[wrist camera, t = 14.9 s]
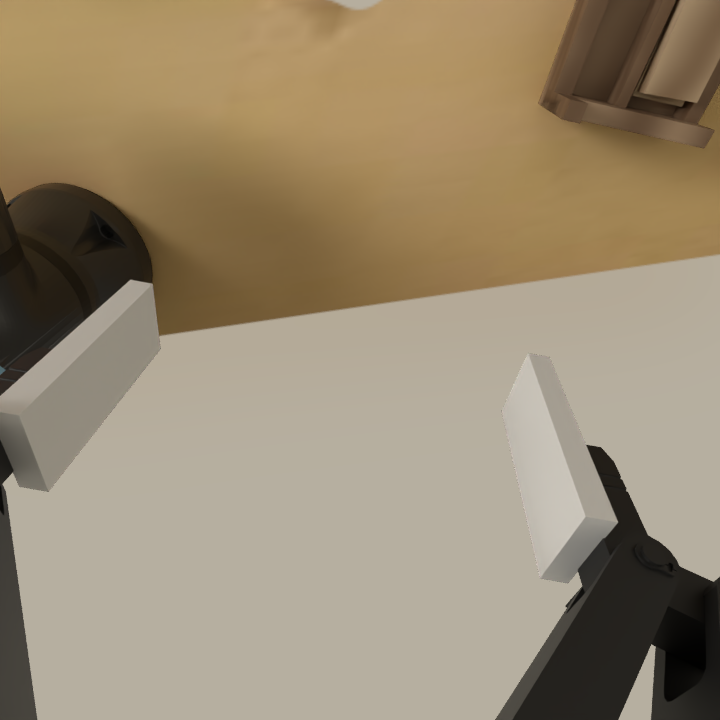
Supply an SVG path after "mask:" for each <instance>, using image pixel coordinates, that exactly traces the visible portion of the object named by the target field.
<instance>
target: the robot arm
mask: <svg viewBox="0 0 720 720" xmlns="http://www.w3.org/2000/svg"><path fill="white" fill-rule="evenodd" d="M151 283H152V266H151V261H150V257H149V254H148V251H147V249H146V246H145V244H144V242H143V240H142V239H141V237H140V235H139V234H138V232H137V231H136V229H135V228H134V227H133V225H132V224H131V223H130V222H129V220H128V219H127V218H126V217H125V216H124V215H123V214H122V213H121V212H120V211H119V210H117V209H116V208H115V207H114V206H113V205H111V204H110V203H109V202H107V201H106V200H104V199H103V198H101V197H100V196H98V195H96V194H94V193H92V192H90V191H88V190H85V189H83V188H80V187H77V186H73V185H69V184H62V183H49V184H43V185H40V186H37V187H34V188H32V189H29V190H27V191H25V192H22V193H20V194H19V195H17V196H15V197H14V198H13V199H12V200H10V201H9V202H8V204H7V205H6V202H5V199H4V197H3V194H2V191H1V188H0V720H37V715H36V708H35V700H34V693H33V686H32V679H31V672H30V664H29V658H28V649H27V643H26V635H25V628H24V620H23V613H22V606H21V599H20V592H19V584H18V577H17V570H16V563H15V555H14V548H13V541H12V533H11V527H10V519H9V512H8V504H7V497H6V491H5V489H4V487H3V485H2V484H3V482H4V481H5V480H6V479H7V478H8V477H9V476H10V475H11V474H12V472H13V474H14V475H15V478H16V480H17V483H18V485H19V487H24V488H30V489H36V490H41V491H47V492H49V490H50V489H51V488H52V487H53V485H54V484H55V483H56V482H57V480H58V479H59V478H60V476H61V475H62V474H63V473H64V471H65V470H66V469H67V467H68V466H69V465H70V464H71V462H72V461H73V460H74V459H75V457H76V456H77V455H78V453H79V452H80V451H81V450H82V448H83V447H84V446H85V444H86V443H87V442H88V441H89V440H90V438H91V437H92V436H93V434H94V433H95V432H96V430H97V429H98V428H99V427H100V426H101V424H102V423H103V422H104V420H105V419H106V418H107V417H108V415H109V414H110V413H111V412H112V410H113V409H114V408H115V406H116V405H117V404H118V403H119V401H120V400H121V399H122V398H123V396H124V395H125V394H126V392H127V391H128V390H129V388H130V387H131V386H132V385H133V383H134V382H135V381H136V380H137V378H138V377H139V376H140V375H141V373H142V372H143V371H144V370H145V368H146V367H147V366H148V364H149V363H150V362H151V360H152V359H153V358H154V357H155V355H156V354H157V353H158V351H159V350H160V349H161V348H160V340H159V332H158V323H157V315H156V307H155V299H154V291H153V284H151ZM502 415H503V420H504V424H505V429H506V433H507V437H508V442H509V446H510V450H511V454H512V459H513V463H514V468H515V472H516V477H517V481H518V485H519V489H520V494H521V498H522V503H523V507H524V511H525V516H526V520H527V524H528V528H529V533H530V537H531V542H532V546H533V550H534V555H535V559H536V563H537V568H538V572H539V577H540V578H541V579H546V580H552V581H557V582H563V583H569V582H570V580H571V579H572V578H573V577H574V576H575V574H576V573H577V572H579V576H580V579H581V583H582V587H581V588H580V590H579V591H578V592H577V593H576V594H575V595H574V597H573V598H572V599H571V600H570V601H569V602H568V604H567V605H566V607H567V609H566V611H565V612H564V614H563V615H562V617H561V619H560V620H559V621H558V623H557V625H556V626H555V628H554V629H553V631H552V633H551V634H550V635H549V637H548V639H547V640H546V642H545V643H544V645H543V646H542V648H541V649H540V651H539V653H538V654H537V656H536V657H535V659H534V661H533V662H532V664H531V665H530V667H529V668H528V670H527V671H526V673H525V674H524V676H523V678H522V679H521V681H520V682H519V684H518V685H517V687H516V688H515V690H514V692H513V693H512V695H511V696H510V698H509V699H508V701H507V702H506V704H505V706H504V707H503V709H502V710H501V712H500V713H499V715H498V716H497V718H496V719H495V720H618V719H619V717H620V714H621V712H622V710H623V708H624V705H625V703H626V701H627V698H628V696H629V694H630V692H631V689H632V687H633V685H634V682H635V680H636V678H637V676H638V673H639V671H640V669H641V667H642V664H643V662H644V660H645V657H646V655H647V653H648V650H649V648H650V646H651V644H652V645H654V646H656V651H655V667H654V683H653V698H652V714H651V720H720V577H719V578H718V579H717V580H715V581H714V582H712V581H710V580H708V579H706V578H704V577H701V576H699V575H697V574H695V573H693V572H690V571H688V570H686V569H684V568H682V567H680V566H679V565H678V562H677V560H676V559H675V557H674V556H673V555H672V553H671V552H670V551H669V550H668V549H667V548H666V547H665V546H663V545H662V544H661V543H660V542H659V541H657V540H655V539H653V538H651V537H650V536H648V535H647V532H646V530H645V528H644V526H643V524H642V522H641V520H640V517H639V515H638V513H637V511H636V509H635V506H634V504H633V502H632V500H631V498H630V495H629V493H628V492H626V487H625V485H624V483H623V480H621V479H620V478H621V476H620V474H619V472H618V470H617V467H616V465H615V463H614V461H613V460H612V459H611V458H610V457H609V456H608V455H607V453H606V452H605V451H604V450H603V449H602V448H601V447H596V446H590V445H586V444H585V441H584V439H583V436H582V434H581V432H580V429H579V427H578V424H577V422H576V419H575V417H574V415H573V412H572V410H571V408H570V405H569V403H568V400H567V398H566V395H565V393H564V390H563V388H562V386H561V383H560V381H559V379H558V376H557V374H556V371H555V369H554V366H553V364H552V361H551V359H550V357H547V356H542V355H536V354H531V353H528V354H527V356H526V359H525V361H524V363H523V365H522V367H521V369H520V372H519V374H518V376H517V378H516V380H515V382H514V385H513V387H512V389H511V391H510V393H509V396H508V398H507V400H506V402H505V404H504V406H503V409H502Z"/></svg>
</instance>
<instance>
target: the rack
mask: <svg viewBox="0 0 720 720" xmlns="http://www.w3.org/2000/svg"><path fill="white" fill-rule="evenodd" d="M675 2H676V0H576V2H575V5H574V8H573V10H572V13H571V16H570V19H569V21H568V24H567V27H566V30H565V32H564V35H563V38H562V40H561V43H560V46H559V49H558V51H557V54H556V57H555V60H554V62H553V65H552V68H551V71H550V73H549V76H548V79H547V82H546V84H545V87H544V90H543V92H542V95H541V98H540V101H539V103H538V104H540V105H541V106H543V107H544V108H546V109H547V110H549V111H550V112H552V113H553V114H555V115H557V116H558V117H560V118H561V119H563V120H567V121H571V122H576V123H580V122H581V121H585V122H590V123H594V124H599V125H603V126H607V127H612V128H616V129H621V130H625V131H630V132H634V133H638V134H643V135H647V136H652V137H656V138H660V139H665V140H669V141H674V142H678V143H682V144H687V145H691V146H696V147H700V148H705V146H706V145H707V143H708V141H709V140H710V138H711V136H712V134H713V133H714V131H715V130H712V129H710V128H707V127H704V126H701V125H698V122H699V120H700V118H701V116H702V115H703V113H704V111H705V109H706V108H707V106H708V104H709V102H710V100H711V99H712V97H713V95H714V93H715V91H716V90H717V88H718V86H719V84H720V59H719V61H718V63H717V65H716V67H715V69H714V71H713V73H712V75H711V77H710V79H709V81H708V82H707V84H706V86H705V88H704V90H703V92H702V94H701V96H700V98H699V100H698V102H697V103H694V102H689V101H685V102H684V104H683V106H682V107H680V106H675V105H671V104H667V103H662V102H658V101H653V100H649V99H645V98H640V97H636V96H632V94H633V92H634V89H635V87H636V85H637V83H638V81H639V79H640V77H641V74H642V72H643V70H644V68H645V66H646V64H647V62H648V60H649V57H650V55H651V53H652V51H653V49H654V47H655V45H656V42H657V40H658V38H659V36H660V34H661V32H662V30H663V27H664V25H665V23H666V21H667V19H668V17H669V15H670V12H671V10H672V8H673V6H674V4H675Z"/></svg>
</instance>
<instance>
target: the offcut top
mask: <svg viewBox="0 0 720 720" xmlns="http://www.w3.org/2000/svg"><path fill="white" fill-rule="evenodd" d="M719 59H720V0H677V1H676V3H675V5H674V8H673V10H672V12H671V14H670V17H669V19H668V21H667V24H666V26H665V28H664V30H663V33H662V35H661V37H660V39H659V42H658V44H657V46H656V49H655V51H654V53H653V55H652V58H651V60H650V62H649V65H648V67H647V69H646V71H645V74H644V76H643V78H642V81H641V83H640V85H639V87H638V90H637V91H638V92H642V93H645V94H651V95H656V96H662V97H667V98H672V99H678V100H683V101H689V102H694V103H697V102H698V100H699V98H700V96H701V94H702V92H703V90H704V88H705V86H706V84H707V82H708V81H709V79H710V77H711V75H712V73H713V71H714V69H715V67H716V65H717V63H718V61H719Z"/></svg>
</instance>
